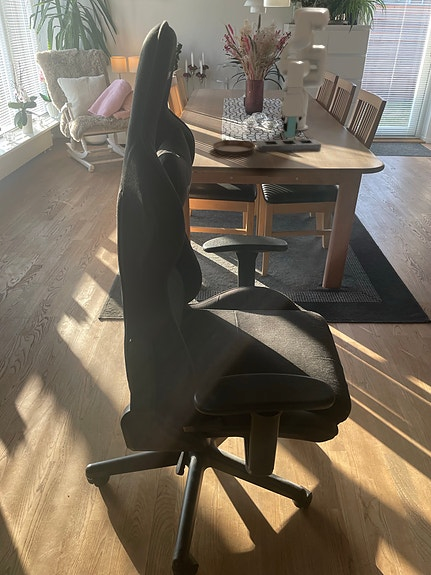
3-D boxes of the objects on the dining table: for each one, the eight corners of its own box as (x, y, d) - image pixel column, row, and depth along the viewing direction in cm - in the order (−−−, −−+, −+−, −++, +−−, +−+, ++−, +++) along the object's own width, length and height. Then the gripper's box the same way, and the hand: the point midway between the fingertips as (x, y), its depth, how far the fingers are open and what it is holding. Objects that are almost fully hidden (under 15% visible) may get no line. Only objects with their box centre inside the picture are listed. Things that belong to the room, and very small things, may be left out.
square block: (284, 135, 228) (286, 114, 222) (292, 135, 228) (294, 114, 223) (286, 137, 224) (288, 116, 219) (294, 137, 225) (296, 115, 219)
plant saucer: (203, 151, 224) (203, 144, 222) (232, 143, 236) (233, 137, 235) (234, 161, 212) (234, 153, 210) (263, 152, 224) (264, 145, 222)
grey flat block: (256, 146, 231) (256, 140, 230) (313, 144, 236) (314, 138, 234) (261, 152, 223) (261, 146, 222) (320, 150, 227) (321, 144, 226)
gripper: (278, 92, 211) (275, 133, 220) (313, 91, 213) (308, 132, 223) (274, 89, 217) (271, 129, 227) (308, 89, 219) (303, 128, 229)
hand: (289, 130), depth 225 cm, fingers closed on square block, 4 cm apart
